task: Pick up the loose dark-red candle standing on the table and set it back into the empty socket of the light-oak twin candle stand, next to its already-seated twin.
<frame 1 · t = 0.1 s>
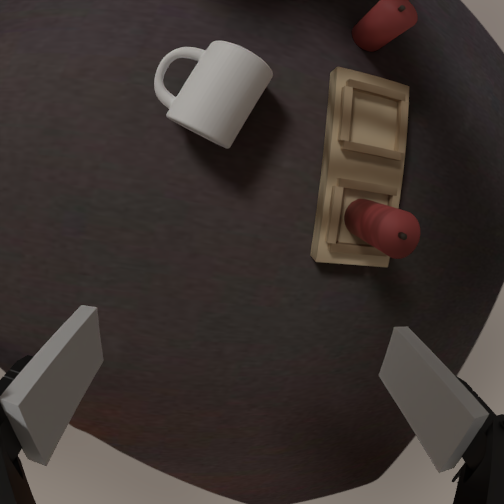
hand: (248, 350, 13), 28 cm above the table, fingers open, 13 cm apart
mug: (206, 94, 36), on the table
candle: (367, 37, 34), on the table
oak candlestand: (358, 168, 39), on the table
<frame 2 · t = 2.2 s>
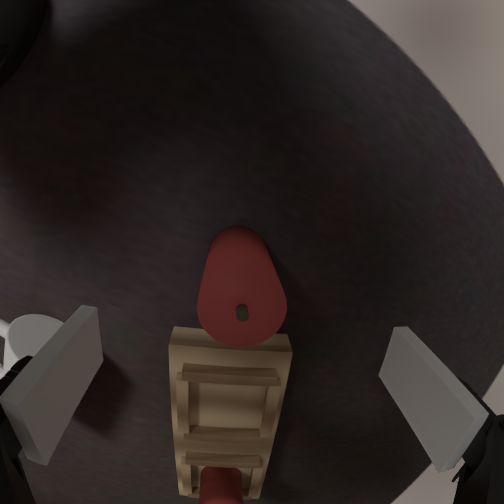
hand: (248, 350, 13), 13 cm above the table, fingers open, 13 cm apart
mug: (42, 346, 28), on the table
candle: (237, 254, 26), on the table
oak candlestand: (223, 424, 31), on the table
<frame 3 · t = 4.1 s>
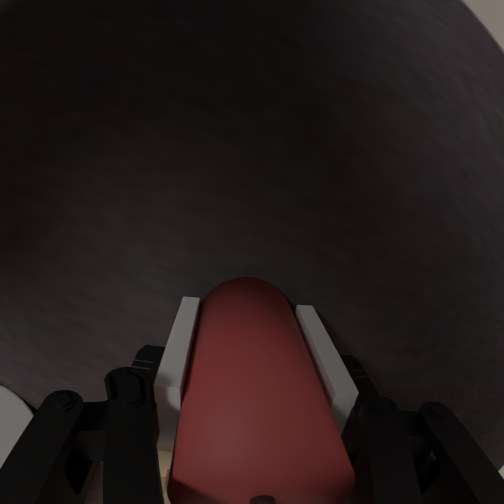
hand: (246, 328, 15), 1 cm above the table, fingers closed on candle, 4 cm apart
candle: (245, 321, 16), on the table, touching gripper
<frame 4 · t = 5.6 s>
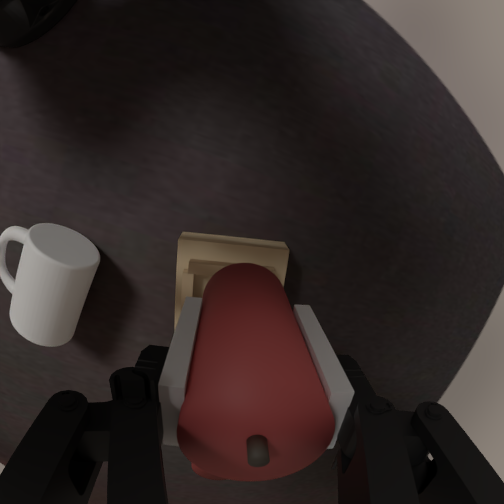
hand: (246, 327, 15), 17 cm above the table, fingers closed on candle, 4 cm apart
mug: (54, 262, 31), on the table
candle: (244, 302, 18), point 15 cm above the table, touching gripper
oak candlestand: (222, 342, 35), on the table
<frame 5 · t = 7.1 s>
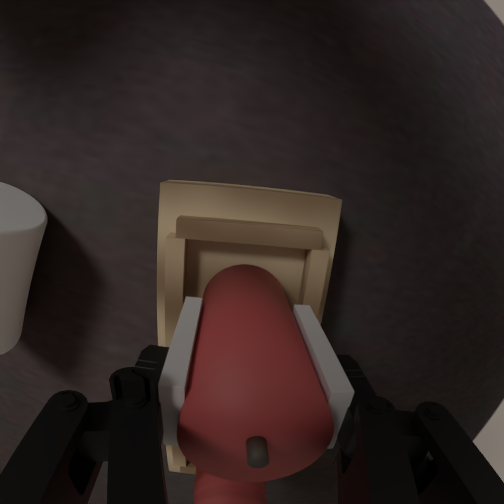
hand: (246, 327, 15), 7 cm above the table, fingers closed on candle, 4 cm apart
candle: (243, 303, 18), point 4 cm above the table, touching gripper
oak candlestand: (234, 352, 23), on the table
when the fingers open (5 cm above the table, at t = 7.6 s): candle stays where it is, resting on oak candlestand.
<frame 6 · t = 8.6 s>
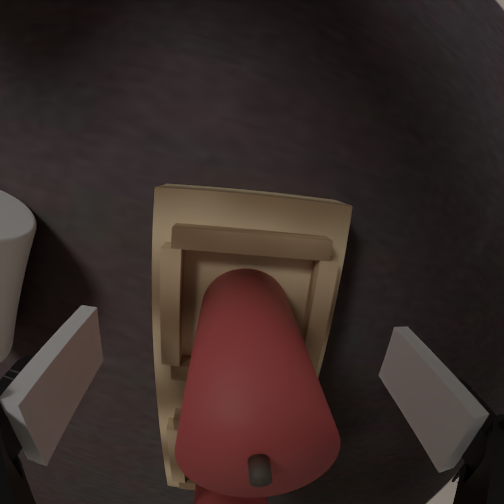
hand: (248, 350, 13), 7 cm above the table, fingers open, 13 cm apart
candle: (244, 309, 17), point 3 cm above the table, touching oak candlestand
oak candlestand: (235, 367, 22), on the table
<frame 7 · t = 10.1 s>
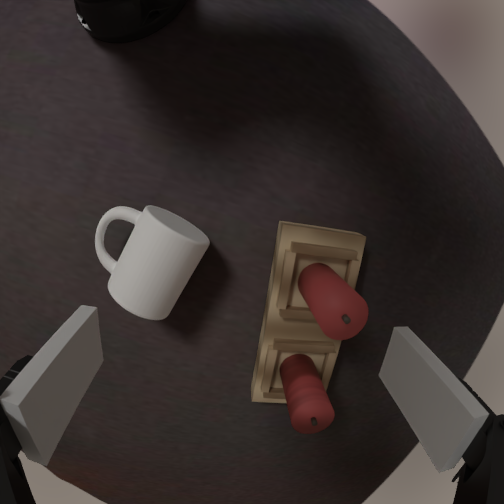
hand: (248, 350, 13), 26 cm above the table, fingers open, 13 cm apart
mug: (150, 245, 38), on the table
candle: (316, 281, 37), point 3 cm above the table, touching oak candlestand
oak candlestand: (301, 317, 41), on the table
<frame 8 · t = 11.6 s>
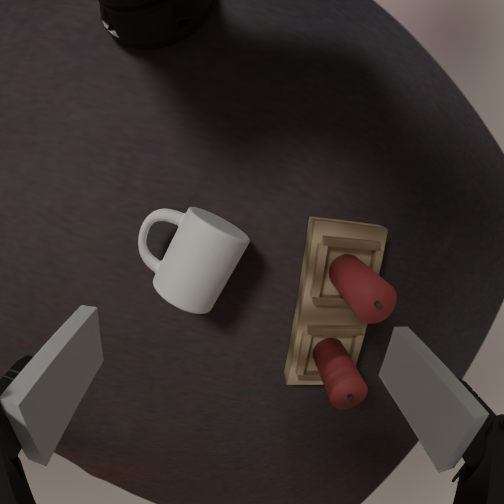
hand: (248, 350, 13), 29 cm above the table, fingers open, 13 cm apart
mug: (189, 243, 41), on the table
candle: (345, 271, 40), point 3 cm above the table, touching oak candlestand
oak candlestand: (330, 304, 44), on the table
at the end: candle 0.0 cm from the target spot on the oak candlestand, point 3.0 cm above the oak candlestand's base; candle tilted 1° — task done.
